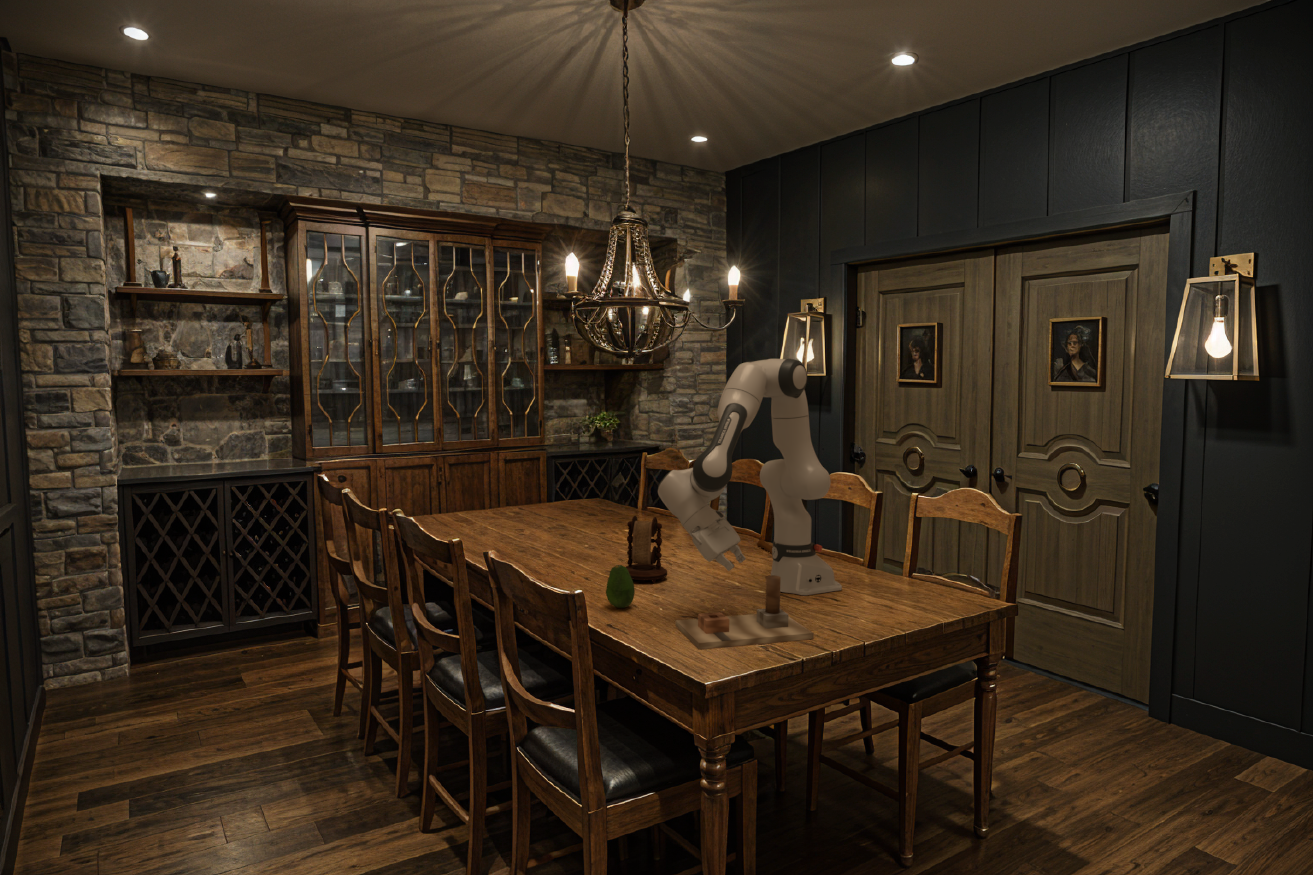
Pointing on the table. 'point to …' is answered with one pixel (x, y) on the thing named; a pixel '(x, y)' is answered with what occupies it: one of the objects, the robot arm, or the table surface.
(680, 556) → the table surface
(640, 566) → the scroll
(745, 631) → the subfloor panel
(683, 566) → the table surface
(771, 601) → the brown wooden peg
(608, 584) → the avocado
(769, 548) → the primitive tool
